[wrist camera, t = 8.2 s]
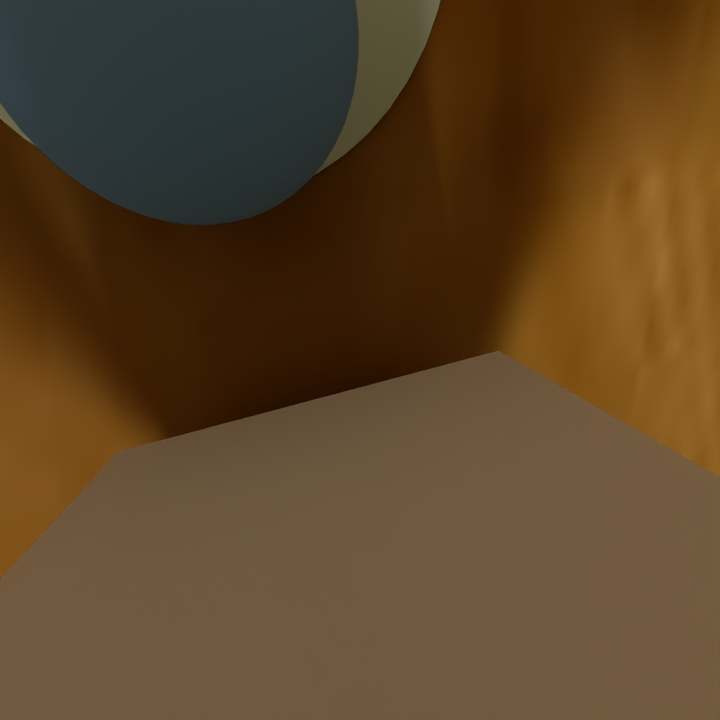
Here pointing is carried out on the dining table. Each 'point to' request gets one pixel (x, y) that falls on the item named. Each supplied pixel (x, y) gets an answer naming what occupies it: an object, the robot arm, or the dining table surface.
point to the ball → (182, 97)
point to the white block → (379, 567)
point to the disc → (371, 64)
